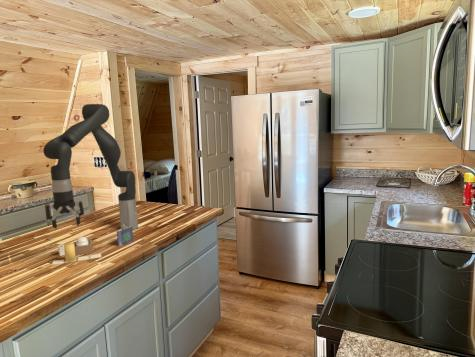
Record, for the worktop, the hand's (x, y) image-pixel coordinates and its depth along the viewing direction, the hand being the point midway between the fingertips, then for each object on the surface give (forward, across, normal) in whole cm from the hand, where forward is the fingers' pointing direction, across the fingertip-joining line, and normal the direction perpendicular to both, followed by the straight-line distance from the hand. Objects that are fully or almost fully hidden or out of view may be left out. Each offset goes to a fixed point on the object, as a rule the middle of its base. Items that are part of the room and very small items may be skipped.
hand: (67, 226), depth 147 cm
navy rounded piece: (+17, +23, +12) cm, 31 cm away
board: (+16, +2, +5) cm, 17 cm away
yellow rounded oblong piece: (+15, 0, 0) cm, 15 cm away
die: (+15, -4, +10) cm, 19 cm away
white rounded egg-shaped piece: (+15, +4, +9) cm, 18 cm away
